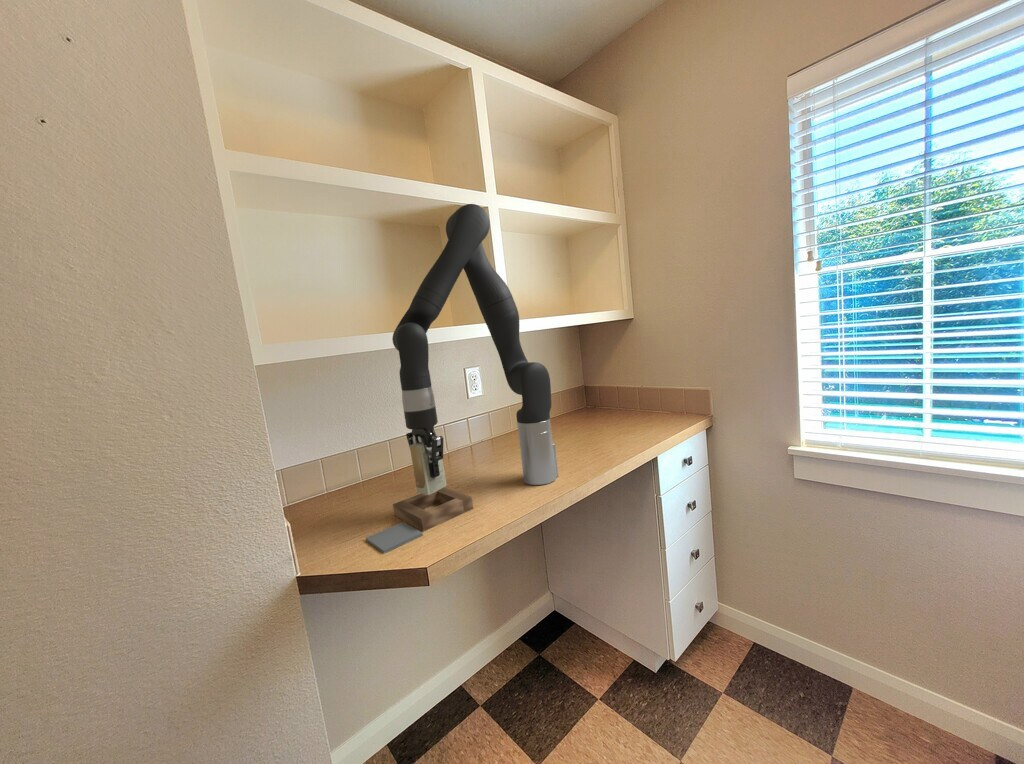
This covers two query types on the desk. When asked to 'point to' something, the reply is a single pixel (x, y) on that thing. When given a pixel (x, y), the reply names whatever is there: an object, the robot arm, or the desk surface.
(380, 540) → the mat
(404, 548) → the desk surface
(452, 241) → the robot arm
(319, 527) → the desk surface
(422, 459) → the skincare box
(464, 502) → the collar
